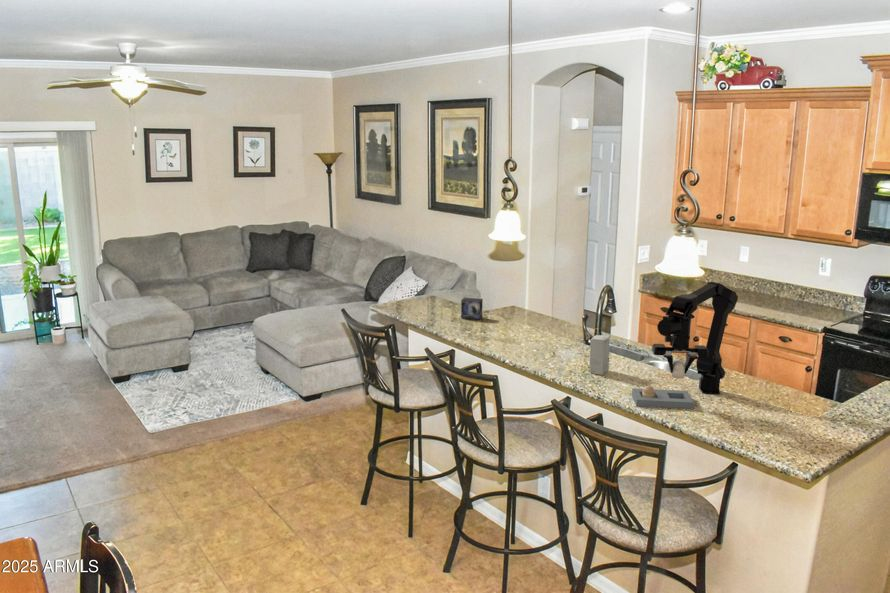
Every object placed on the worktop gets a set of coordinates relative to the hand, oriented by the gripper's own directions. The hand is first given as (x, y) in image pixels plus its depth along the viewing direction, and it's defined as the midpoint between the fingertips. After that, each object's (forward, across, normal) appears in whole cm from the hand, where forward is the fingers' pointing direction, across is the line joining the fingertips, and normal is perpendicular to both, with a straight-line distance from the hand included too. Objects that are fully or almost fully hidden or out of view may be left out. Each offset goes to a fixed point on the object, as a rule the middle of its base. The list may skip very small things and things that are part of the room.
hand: (678, 373), depth 254 cm
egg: (+1, 0, 0) cm, 1 cm away
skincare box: (+11, +25, -32) cm, 42 cm away
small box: (+12, +85, -114) cm, 143 cm away
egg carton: (+11, +5, 0) cm, 12 cm away
